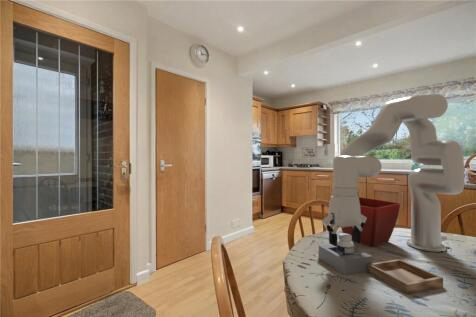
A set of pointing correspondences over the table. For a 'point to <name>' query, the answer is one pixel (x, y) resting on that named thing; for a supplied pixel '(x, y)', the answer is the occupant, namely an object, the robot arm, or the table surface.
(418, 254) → the table surface
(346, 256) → the dock
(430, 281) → the tray
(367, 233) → the plant pot
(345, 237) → the pill bottle
